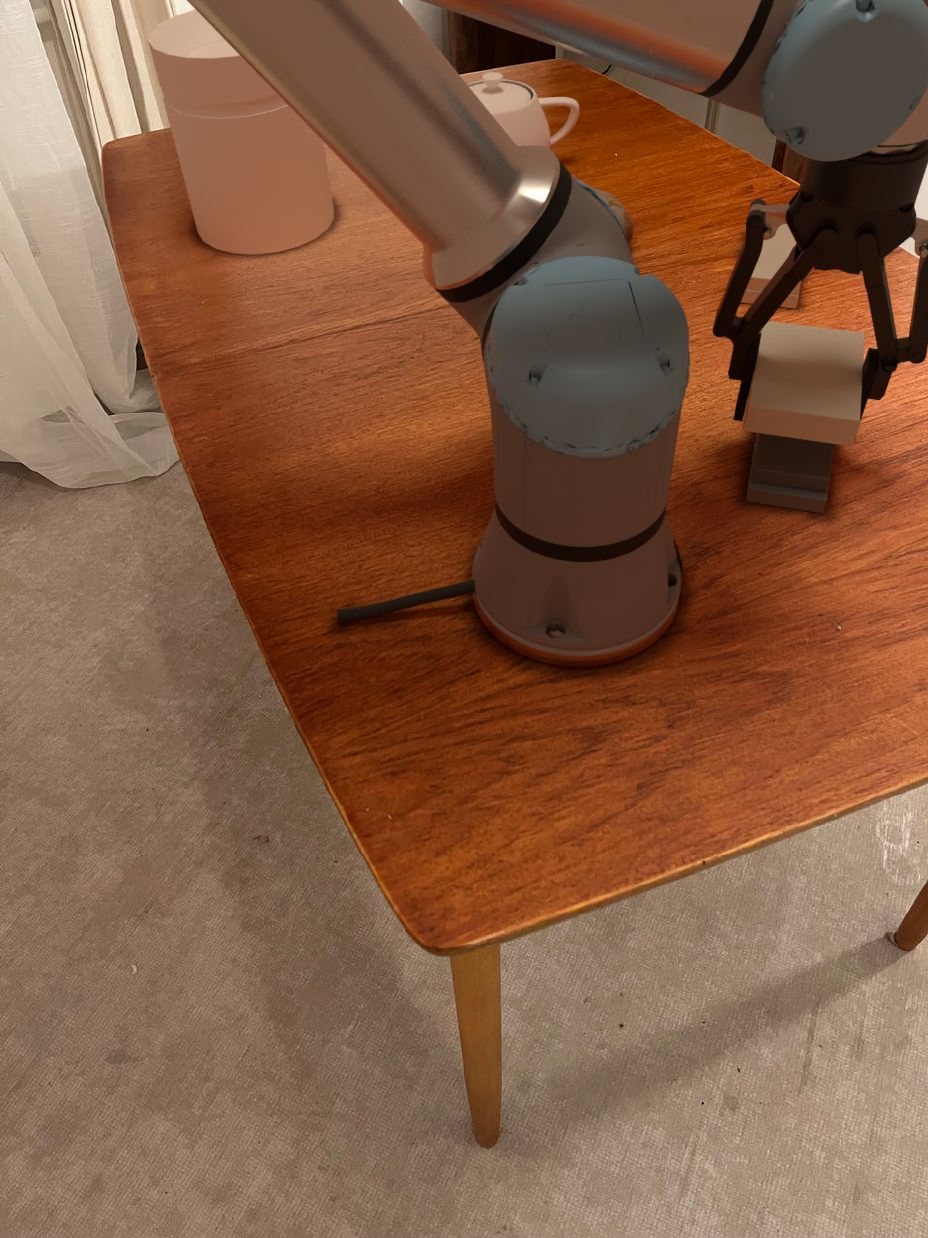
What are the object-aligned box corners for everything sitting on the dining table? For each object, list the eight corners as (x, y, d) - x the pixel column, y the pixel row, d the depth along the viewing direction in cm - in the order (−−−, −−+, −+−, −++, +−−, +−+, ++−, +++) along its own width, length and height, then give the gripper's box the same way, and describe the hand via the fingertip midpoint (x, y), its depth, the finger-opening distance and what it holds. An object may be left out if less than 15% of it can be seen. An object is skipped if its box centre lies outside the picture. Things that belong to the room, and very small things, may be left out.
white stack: (795, 308, 97) (801, 282, 95) (734, 301, 98) (738, 276, 96) (805, 240, 106) (811, 215, 103) (748, 234, 107) (753, 209, 105)
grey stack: (822, 513, 77) (831, 486, 75) (745, 501, 79) (751, 474, 77) (832, 408, 86) (839, 381, 84) (762, 399, 87) (768, 372, 85)
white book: (851, 446, 73) (860, 420, 71) (741, 431, 75) (747, 404, 73) (857, 357, 81) (865, 331, 79) (757, 345, 82) (762, 319, 81)
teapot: (568, 138, 125) (571, 45, 117) (586, 186, 116) (591, 89, 108) (396, 153, 125) (388, 60, 117) (401, 202, 116) (392, 106, 107)
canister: (190, 201, 118) (142, 15, 103) (321, 179, 121) (292, -6, 106) (205, 265, 108) (153, 68, 93) (347, 239, 110) (319, 43, 95)
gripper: (1045, 120, 63) (929, 411, 80) (716, 93, 67) (672, 374, 84) (1056, 171, 58) (930, 469, 75) (701, 138, 63) (658, 426, 80)
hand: (794, 419), depth 80 cm, fingers closed on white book, 8 cm apart
